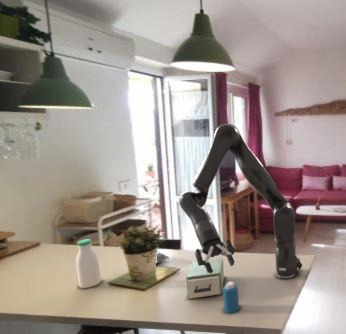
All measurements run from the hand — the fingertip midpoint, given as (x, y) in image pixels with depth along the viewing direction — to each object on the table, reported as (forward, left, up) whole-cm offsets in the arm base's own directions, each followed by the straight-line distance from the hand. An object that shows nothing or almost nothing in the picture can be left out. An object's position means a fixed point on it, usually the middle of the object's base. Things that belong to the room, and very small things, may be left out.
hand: (222, 268), depth 129 cm
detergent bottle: (-3, +5, -14) cm, 16 cm away
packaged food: (+36, -49, -15) cm, 62 cm away
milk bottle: (+58, -33, -15) cm, 68 cm away
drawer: (+8, -10, -13) cm, 19 cm away
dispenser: (+8, -15, -14) cm, 22 cm away
